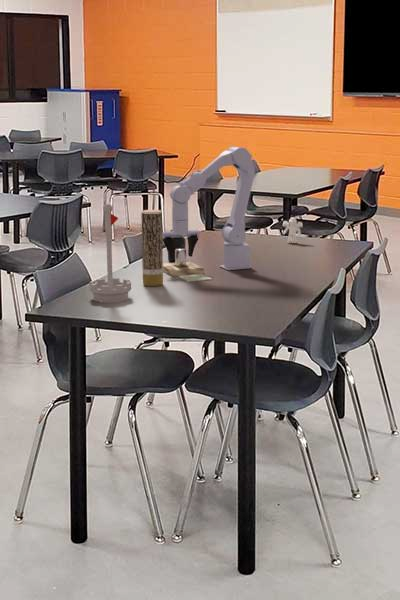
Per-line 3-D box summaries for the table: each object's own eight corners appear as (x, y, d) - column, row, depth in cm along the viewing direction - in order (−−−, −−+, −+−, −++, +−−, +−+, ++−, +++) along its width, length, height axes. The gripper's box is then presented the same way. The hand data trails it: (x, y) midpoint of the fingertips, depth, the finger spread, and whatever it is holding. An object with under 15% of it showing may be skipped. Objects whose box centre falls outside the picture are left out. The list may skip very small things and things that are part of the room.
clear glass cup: (184, 269, 328) (183, 248, 326) (188, 271, 324) (187, 250, 322) (173, 270, 326) (173, 249, 324) (177, 272, 322) (177, 250, 321)
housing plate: (189, 266, 333) (189, 261, 333) (203, 273, 321) (203, 267, 320) (158, 269, 329) (158, 263, 329) (172, 276, 316) (172, 270, 316)
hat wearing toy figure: (303, 243, 384) (304, 215, 381) (300, 244, 381) (300, 216, 378) (283, 241, 388) (284, 214, 385) (280, 242, 385) (280, 215, 382)
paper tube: (166, 283, 305) (164, 210, 299) (158, 287, 298) (157, 212, 293) (147, 282, 307) (145, 209, 301) (139, 286, 300) (138, 212, 295)
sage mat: (202, 275, 318) (202, 273, 318) (212, 279, 310) (212, 278, 310) (178, 277, 315) (178, 276, 315) (188, 281, 307) (187, 280, 307)
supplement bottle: (165, 262, 343) (164, 231, 341) (172, 259, 350) (171, 228, 347) (181, 263, 341) (181, 231, 338) (188, 260, 347) (188, 229, 344)
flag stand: (114, 305, 274) (111, 207, 267) (81, 300, 281) (77, 204, 274) (139, 296, 285) (137, 202, 278) (107, 292, 292) (104, 200, 285)
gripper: (194, 217, 327) (195, 253, 330) (157, 219, 322) (157, 256, 325) (202, 219, 321) (202, 256, 324) (164, 221, 315) (164, 259, 318)
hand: (180, 257), depth 324 cm, fingers open, 7 cm apart
